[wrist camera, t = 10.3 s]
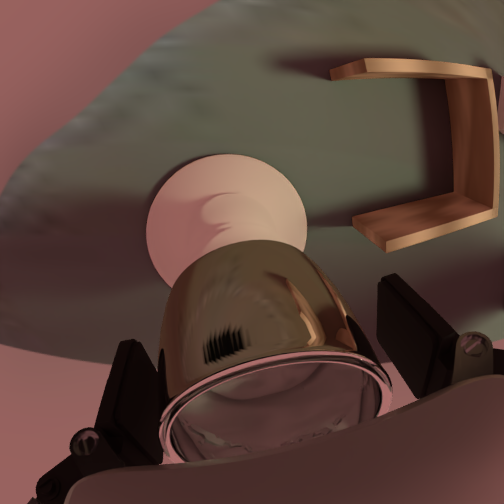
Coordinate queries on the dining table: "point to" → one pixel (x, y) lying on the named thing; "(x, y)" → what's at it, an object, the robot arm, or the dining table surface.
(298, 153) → the dining table surface
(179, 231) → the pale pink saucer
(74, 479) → the robot arm
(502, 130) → the pale pink cube
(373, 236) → the wooden u-shaped bracket
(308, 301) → the beer glass
